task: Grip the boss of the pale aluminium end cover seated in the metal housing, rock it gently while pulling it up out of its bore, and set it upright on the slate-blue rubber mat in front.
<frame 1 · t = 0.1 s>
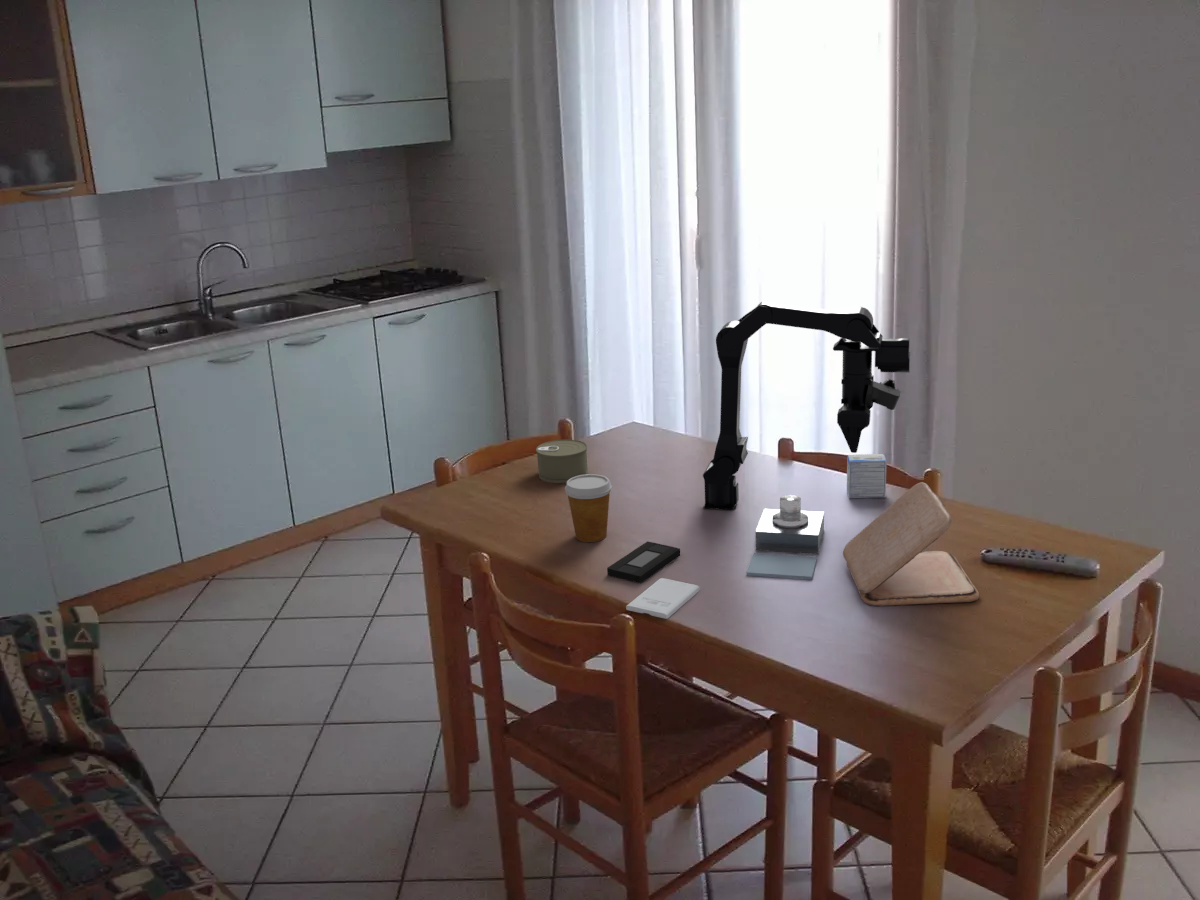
hand: (855, 445, 234), 15 cm above the table, tool pointing down, fingers open, 9 cm apart
end cover: (790, 518, 225), in the housing
disposable coffee cup: (591, 537, 234), on the table
external hard drive: (663, 603, 205), on the table
housing: (790, 540, 227), on the table
mat: (782, 567, 215), on the table
medicine box: (865, 495, 248), on the table
vhs tape: (644, 568, 220), on the table
case: (908, 582, 207), on the table
can: (563, 475, 271), on the table
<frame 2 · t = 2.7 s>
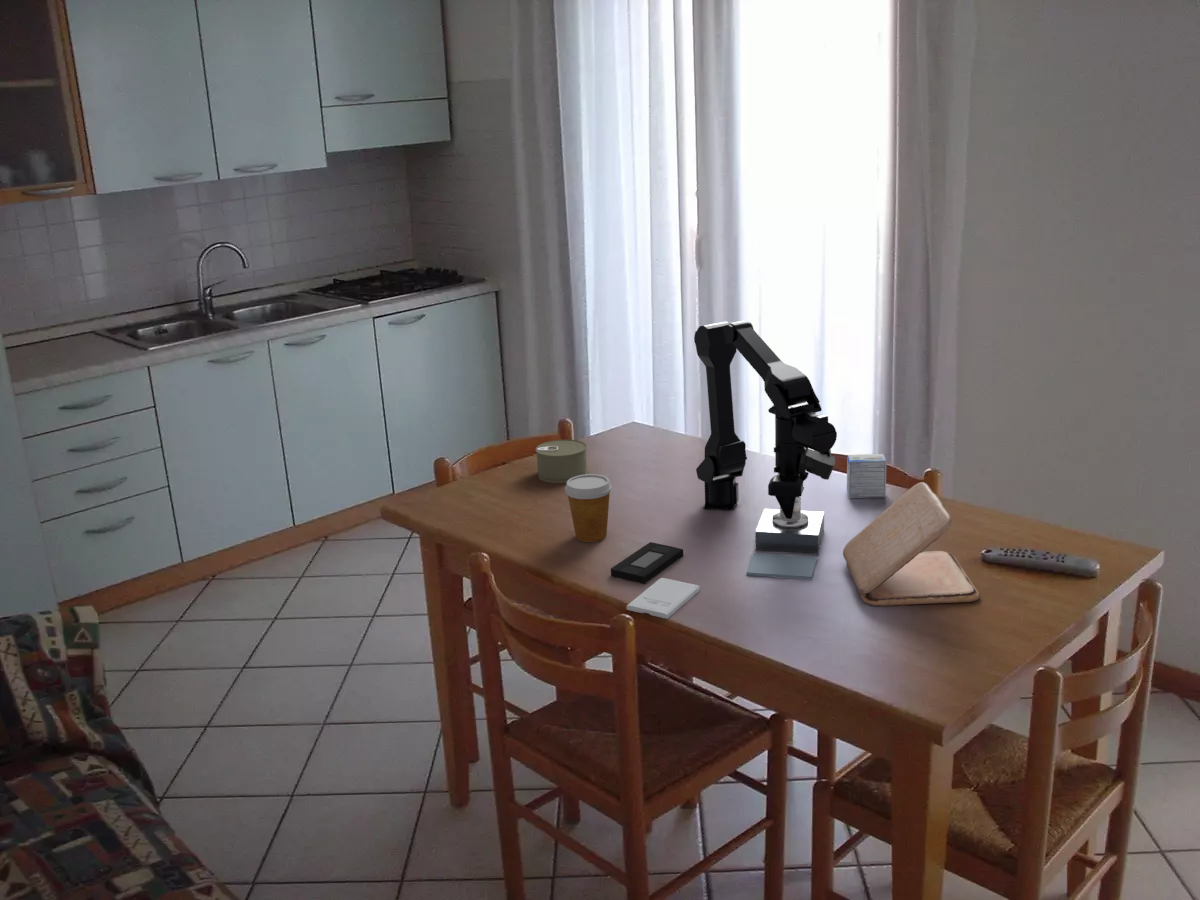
hand: (790, 514, 225), 6 cm above the table, tool pointing down, fingers closed on end cover, 4 cm apart
end cover: (790, 518, 225), in the housing, touching gripper
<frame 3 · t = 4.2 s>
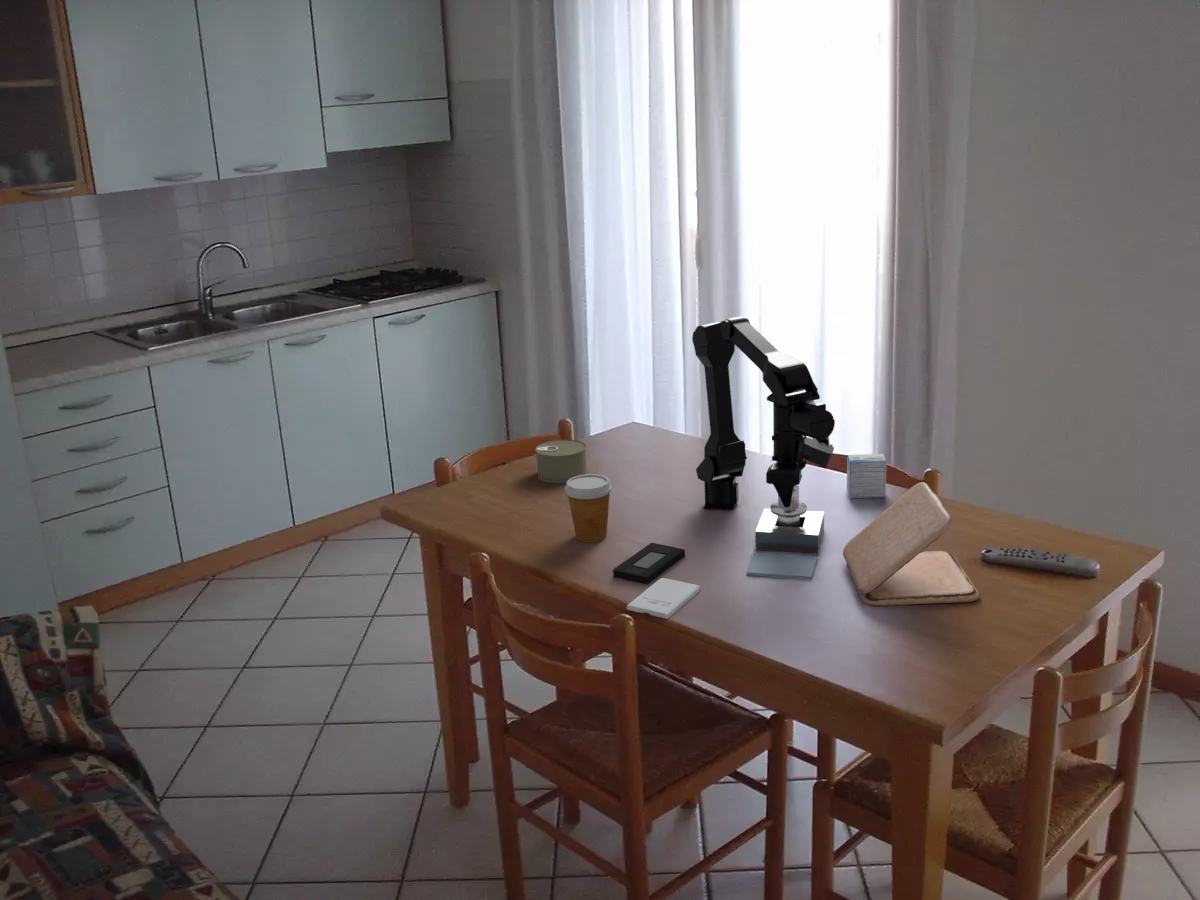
hand: (788, 502, 224), 8 cm above the table, tool pointing down, fingers closed on end cover, 4 cm apart
end cover: (788, 507, 225), point 7 cm above the table, touching gripper
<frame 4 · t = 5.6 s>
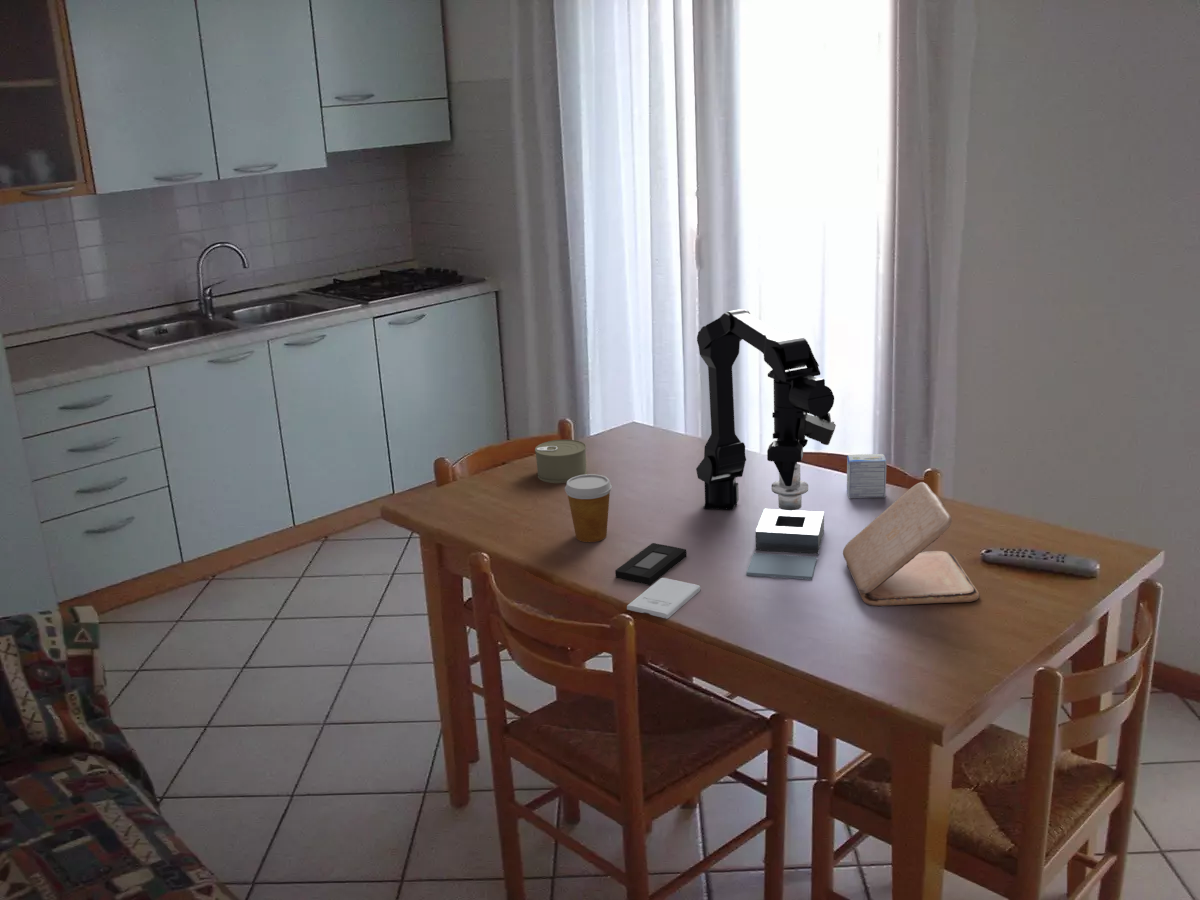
hand: (789, 482, 220), 13 cm above the table, tool pointing down, fingers closed on end cover, 4 cm apart
end cover: (789, 486, 220), point 12 cm above the table, touching gripper
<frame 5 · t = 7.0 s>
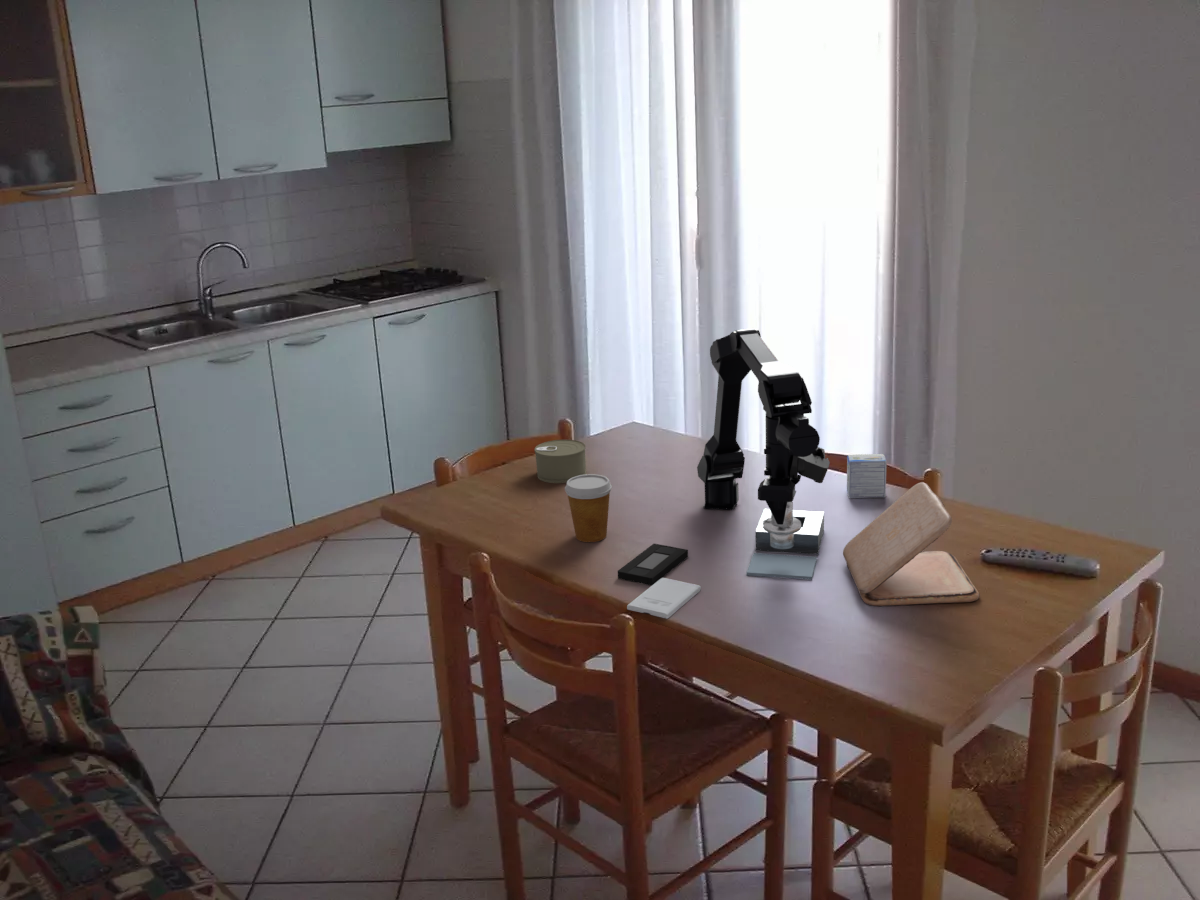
hand: (781, 519, 212), 10 cm above the table, tool pointing down, fingers closed on end cover, 4 cm apart
end cover: (782, 523, 212), point 9 cm above the table, touching gripper
when the fingers open (7 cm above the table, at t = 8.3 s): end cover drops 1 cm, resting on mat.
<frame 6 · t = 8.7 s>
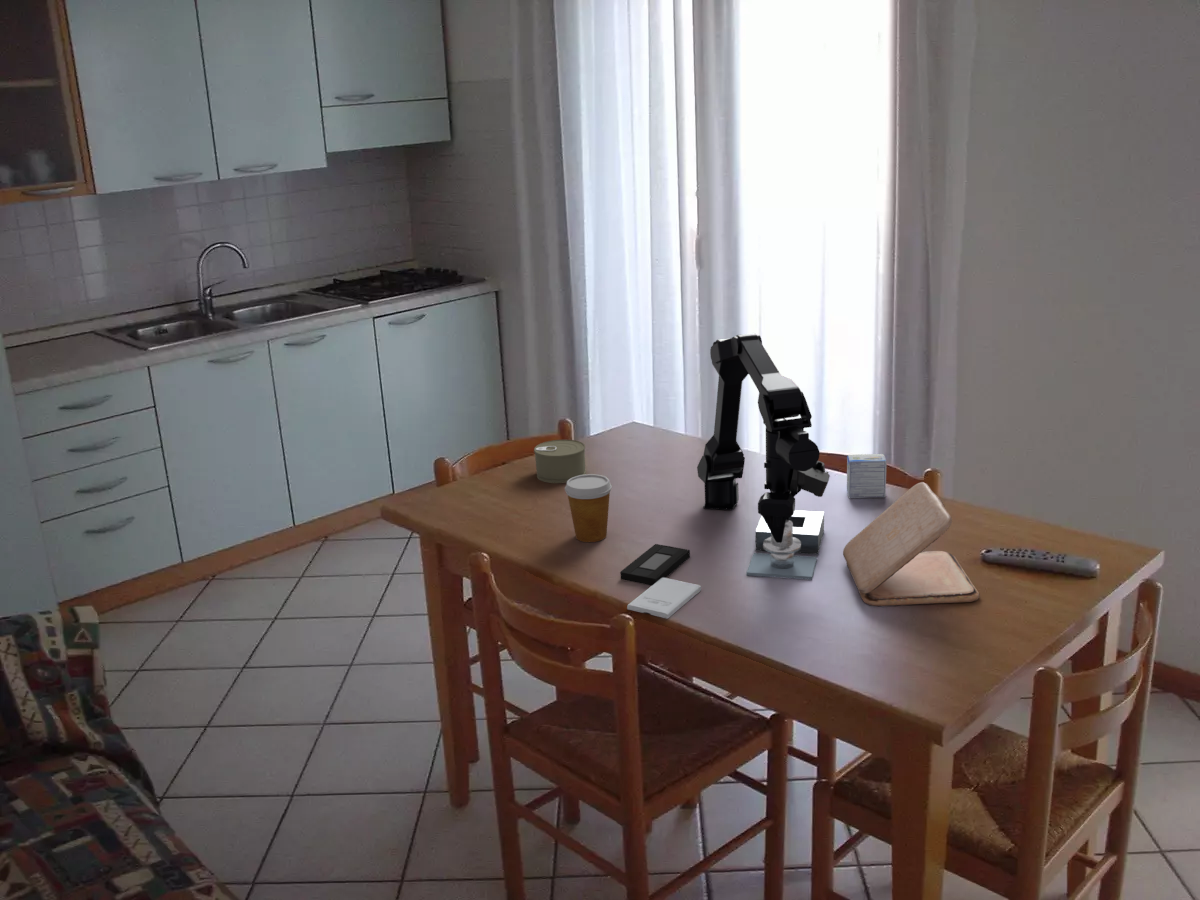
hand: (781, 532, 213), 7 cm above the table, tool pointing down, fingers open, 8 cm apart
end cover: (782, 543, 214), on the mat, point 5 cm above the table
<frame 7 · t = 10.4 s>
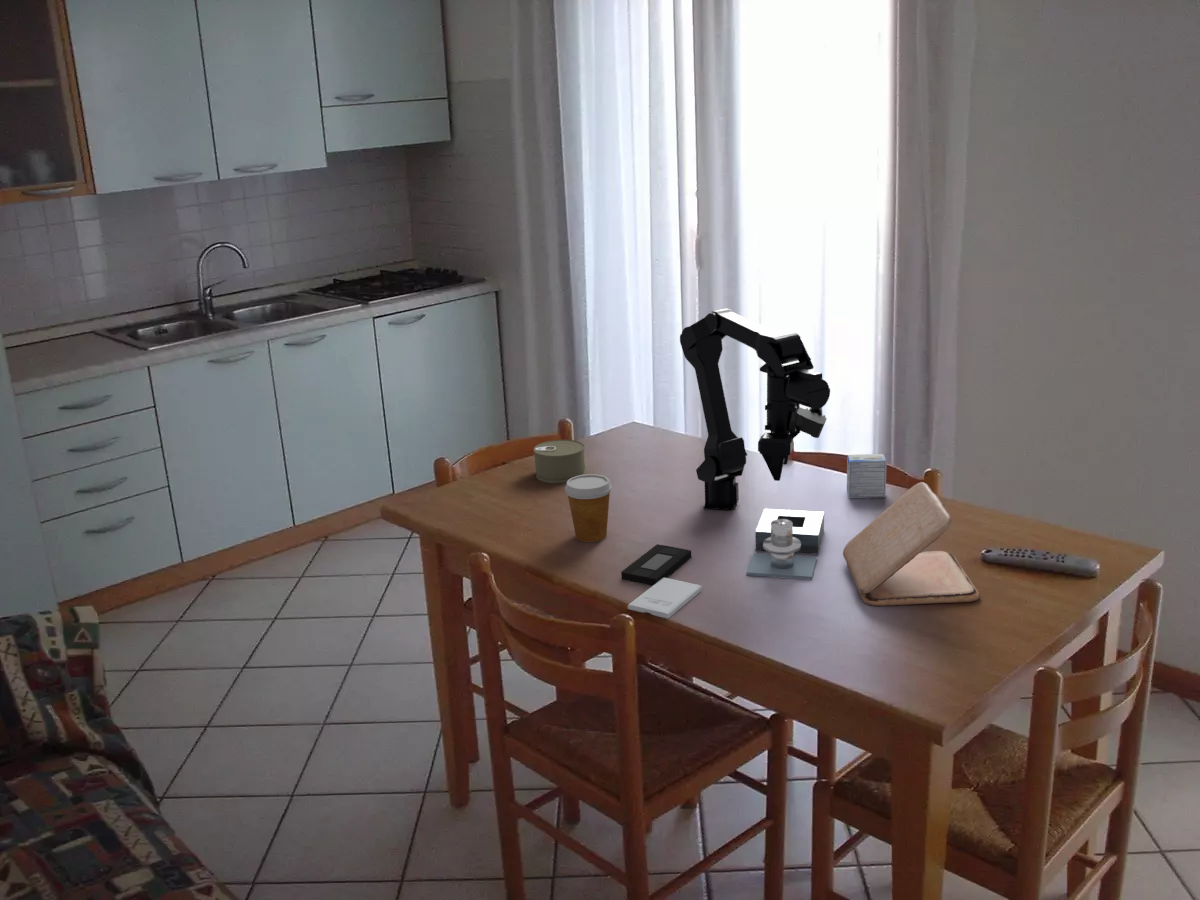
hand: (780, 472, 228), 13 cm above the table, tool pointing down, fingers open, 9 cm apart
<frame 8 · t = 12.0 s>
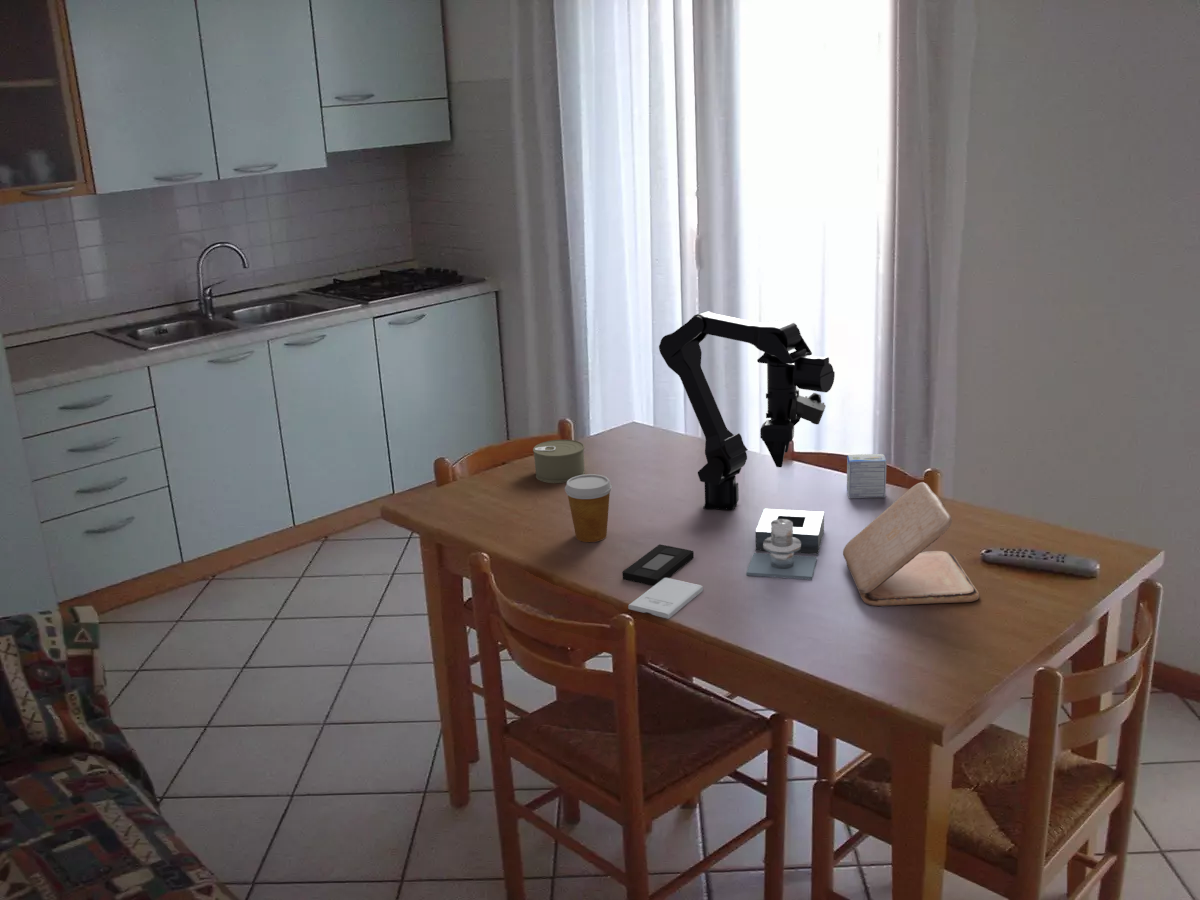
hand: (782, 459, 233), 13 cm above the table, tool pointing down, fingers open, 9 cm apart
at the end: end cover inside the target area on the mat (0.2 cm from its centre), point 4.8 cm above the mat's base; end cover tilted 1°; the gripper is holding nothing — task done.
